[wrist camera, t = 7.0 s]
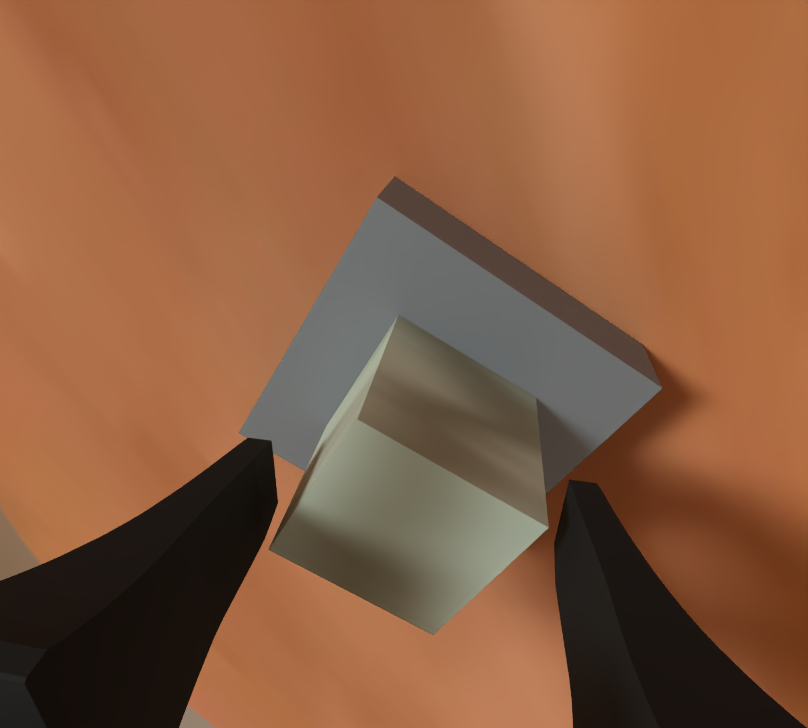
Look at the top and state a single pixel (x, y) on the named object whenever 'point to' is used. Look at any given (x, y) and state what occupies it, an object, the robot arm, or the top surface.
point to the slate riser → (454, 334)
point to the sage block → (420, 482)
